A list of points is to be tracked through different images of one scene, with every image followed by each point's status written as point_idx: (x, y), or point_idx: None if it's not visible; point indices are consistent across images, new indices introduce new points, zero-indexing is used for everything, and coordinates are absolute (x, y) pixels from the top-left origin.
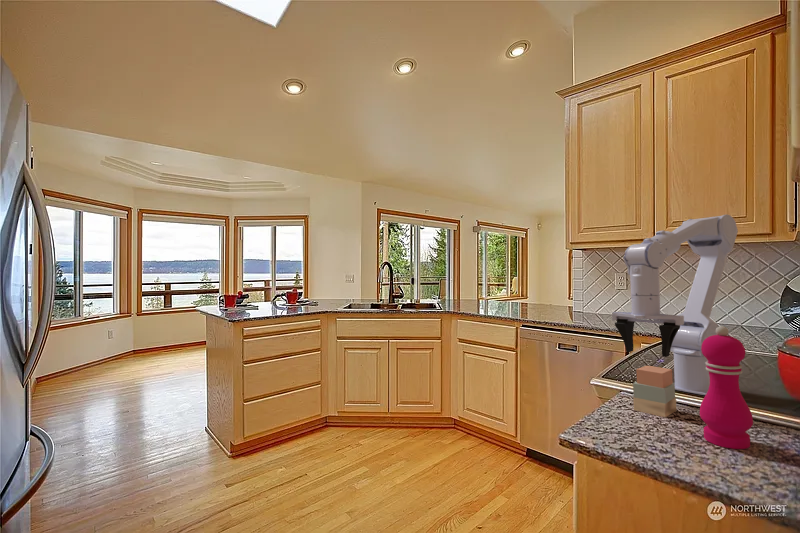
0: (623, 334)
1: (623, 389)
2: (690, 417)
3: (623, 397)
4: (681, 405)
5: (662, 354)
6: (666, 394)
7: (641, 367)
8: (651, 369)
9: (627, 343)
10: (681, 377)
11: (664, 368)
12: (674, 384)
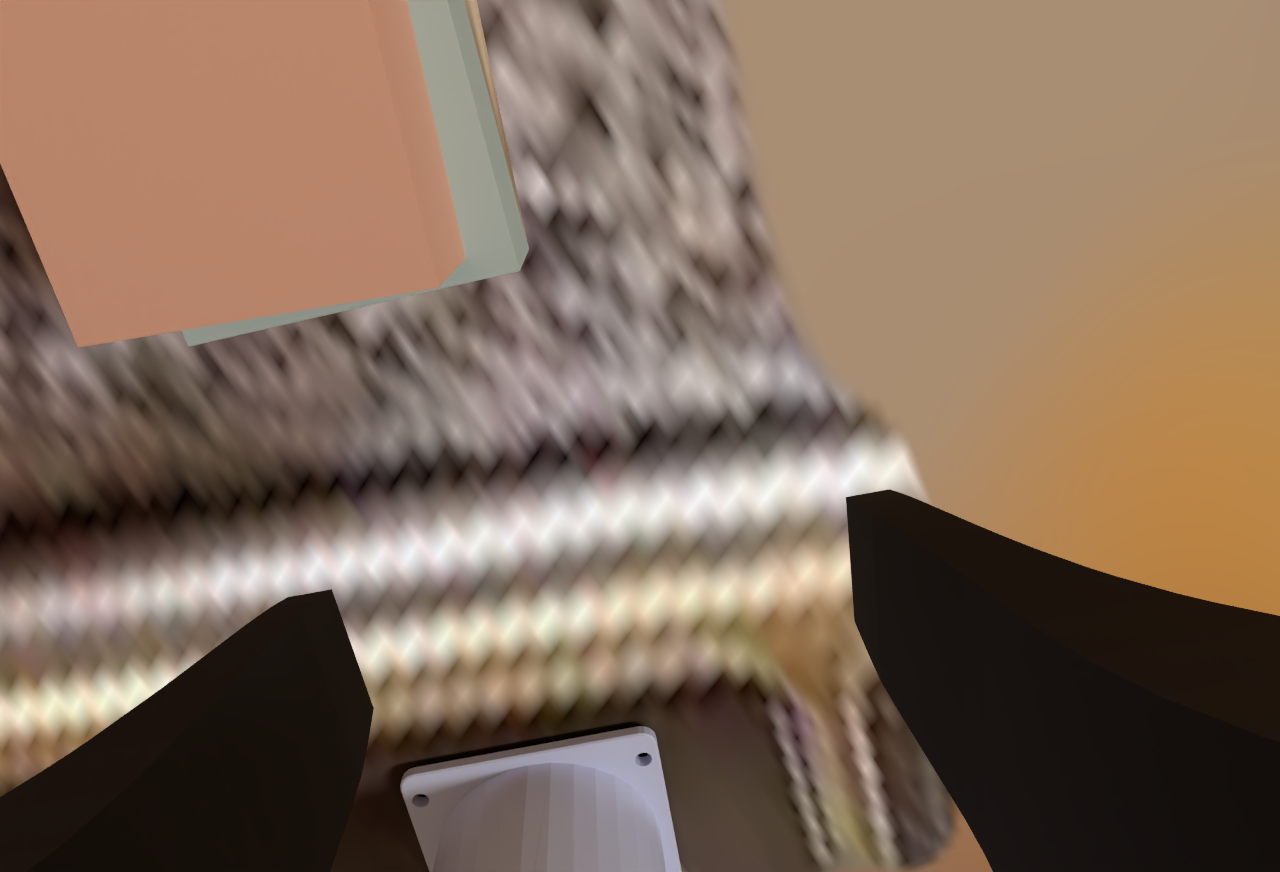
0: (1105, 608)
1: (861, 453)
2: None
3: (737, 241)
4: (352, 438)
5: (312, 602)
6: None
7: (383, 81)
8: (207, 79)
9: (921, 542)
10: (565, 837)
11: (165, 309)
12: (190, 332)
